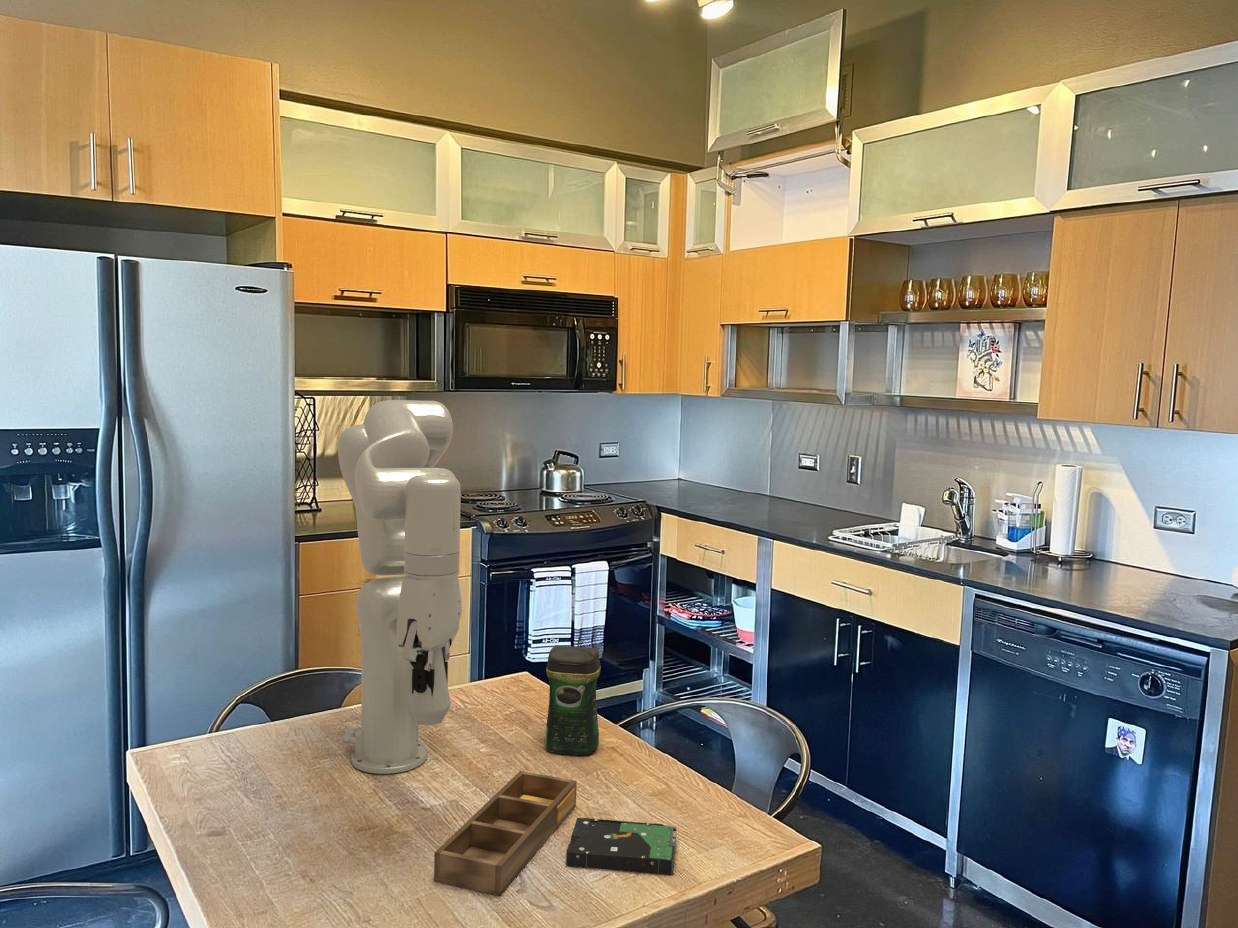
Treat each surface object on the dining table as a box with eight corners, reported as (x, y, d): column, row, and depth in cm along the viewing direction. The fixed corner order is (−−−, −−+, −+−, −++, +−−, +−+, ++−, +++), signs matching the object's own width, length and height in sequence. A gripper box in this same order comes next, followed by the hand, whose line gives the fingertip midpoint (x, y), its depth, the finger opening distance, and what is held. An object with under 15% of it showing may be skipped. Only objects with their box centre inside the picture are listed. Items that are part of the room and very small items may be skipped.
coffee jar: (601, 741, 170) (604, 643, 168) (593, 758, 162) (597, 655, 161) (550, 736, 172) (553, 639, 170) (540, 753, 164) (542, 651, 162)
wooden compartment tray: (434, 881, 122) (434, 852, 121) (519, 794, 147) (520, 770, 147) (502, 896, 119) (503, 866, 118) (577, 805, 144) (578, 781, 144)
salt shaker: (440, 729, 127) (441, 637, 126) (401, 725, 128) (402, 633, 127) (456, 714, 133) (457, 626, 132) (418, 710, 134) (420, 622, 133)
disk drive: (565, 871, 126) (674, 878, 125) (565, 852, 126) (674, 858, 125) (575, 834, 137) (676, 840, 135) (576, 816, 136) (676, 822, 135)
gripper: (437, 551, 137) (435, 671, 139) (375, 572, 122) (374, 707, 124) (483, 555, 135) (480, 678, 137) (425, 578, 120) (423, 715, 122)
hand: (429, 690), depth 130 cm, fingers closed on salt shaker, 3 cm apart
